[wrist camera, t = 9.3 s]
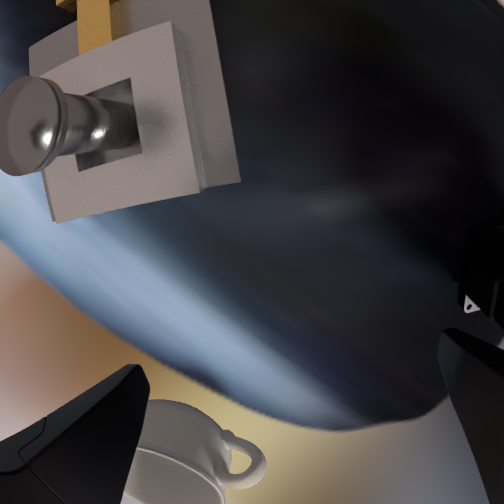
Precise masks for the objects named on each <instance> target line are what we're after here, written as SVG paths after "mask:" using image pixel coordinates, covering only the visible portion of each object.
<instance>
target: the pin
mask: <svg viewBox="0 0 504 504" xmlns="http://www.w3.org/2000/svg"><path fill="white" fill-rule="evenodd" d="M137 132H138V124H137V118H136V112H135V109H134V108H133V107H132V106H130V105H129V104H127V103H123V102H118V101H112V100H107V99H101V98H95V97H89V96H83V95H76V94H69V93H63V91H62V89H61V88H60V87H59V85H58V84H56V83H55V82H54V81H52V80H50V79H46V78H40V77H33V76H23V77H20V78H17V79H16V80H14V81H13V82H11V83H10V84H9V85H8V86H7V87H6V88H5V89H4V90H3V92H2V93H1V94H0V169H1V170H2V171H4V172H5V173H7V174H9V175H12V176H21V175H26V174H30V173H34V172H38V171H41V170H43V169H45V168H46V167H48V166H49V165H50V164H51V163H52V162H53V161H54V159H55V158H56V157H58V156H65V155H72V154H80V153H87V152H96V151H104V150H114V149H121V148H124V147H126V146H127V145H129V144H130V143H131V142H132V141H133V140H134V138H135V137H136V135H137Z"/></svg>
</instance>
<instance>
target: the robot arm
mask: <svg viewBox="0 0 504 504" xmlns="http://www.w3.org/2000/svg"><path fill="white" fill-rule="evenodd" d="M475 233H476V236H475V238H474V234H475ZM468 305H469V306H468ZM467 306H468V307H467ZM462 309H463V310H464V311H465V312H466V313H469V312H473V311H477V310H481V311H482V312H483V313H484V314H485V315H486V316H487V317H488V318H489V319H490V320H492V319H494V320H495V321H496V322H497V323H498V324H499V325H500V326H501V328H502V329H503V330H504V223H503V224H496V225H489V226H482V227H475V228H472V229H471V230H470V231H469V233H468V248H467V260H466V264H465V275H464V285H463V300H462ZM437 358H438V362H439V365H440V368H441V371H442V374H443V377H444V380H445V383H446V386H447V389H448V393H449V396H450V399H451V401H452V404H453V406H454V409H455V411H456V413H457V416H458V418H459V420H460V423H461V425H462V428H463V430H464V433H465V435H466V438H467V440H468V443H469V445H470V448H471V451H472V453H473V456H474V458H475V461H476V464H477V467H478V470H479V473H480V475H481V479H482V481H483V485H484V488H485V491H486V494H487V497H488V500H489V504H504V350H503V349H501V348H498V347H496V346H494V345H492V344H490V343H487V342H485V341H483V340H481V339H479V338H476V337H474V336H472V335H470V334H467V333H465V332H463V331H461V330H458V329H456V328H449V329H445V330H443V331H442V332H441V334H440V339H439V345H438V351H437ZM149 393H150V385H149V382H148V380H147V378H146V375H145V373H144V371H143V368H142V367H141V365H139V364H127V365H126V366H124V367H122V368H121V369H119V370H118V371H116V372H115V373H113V374H112V375H110V376H109V377H107V378H106V379H104V380H103V381H101V382H99V383H98V384H96V385H95V386H93V387H91V388H90V389H88V390H87V391H85V392H84V393H82V394H80V395H79V396H77V397H76V398H74V399H73V400H71V401H69V402H68V403H66V404H65V405H63V406H62V407H60V408H58V409H57V410H55V411H54V412H52V413H50V414H49V415H47V417H44V418H42V419H41V420H39V421H37V422H36V423H34V424H32V425H31V426H29V427H27V428H25V429H23V430H22V431H20V432H18V433H16V434H14V435H12V436H10V437H8V438H6V439H4V440H2V441H0V504H120V503H121V499H122V495H123V492H124V489H125V485H126V482H127V479H128V475H129V472H130V468H131V465H132V462H133V458H134V455H135V452H136V449H137V445H138V442H139V439H140V436H141V432H142V428H143V424H144V419H145V413H146V408H147V403H148V398H149Z"/></svg>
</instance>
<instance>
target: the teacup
mask: <svg viewBox="0 0 504 504" xmlns="http://www.w3.org/2000/svg"><path fill="white" fill-rule="evenodd" d="M231 449H232V450H237V451H240V452H243V453H246V454H247V455H249V456H250V457H251V458H252V463H251V465H250V467H249V468H248V469H247V470H246V471H245V472H243V473H241V474H230V473H229V472H230V466H231ZM265 471H266V459H265V456H264V455H263V453H262V452H261V450H260V449H259V448H258V447H257V446H256V445H254V444H253V443H251V442H249V441H247V440H244V439H242V438H238V437H236V436H235V435H234V434H233V433H232V432H231V431H229V430H222V429H221V427H220V426H219V425H218V424H217V423H216V422H215V421H214V420H213V419H211V418H210V417H209V416H207V415H206V414H204V413H203V412H202V411H200V410H198V409H197V408H194V407H192V406H190V405H187V404H185V403H181V402H176V401H170V400H148V403H147V408H146V413H145V419H144V424H143V428H142V432H141V436H140V439H139V442H138V445H137V449H136V452H135V455H134V458H133V462H132V465H131V468H130V472H129V475H128V479H127V482H126V485H125V489H124V492H123V494H124V495H126V496H127V497H129V498H130V499H132V500H134V501H136V502H138V503H140V504H225V496H224V495H225V490H226V487H230V488H234V489H245V488H249V487H251V486H253V485H255V484H256V483H258V482H259V481H260V480H261V478H262V477H263V475H264V473H265Z"/></svg>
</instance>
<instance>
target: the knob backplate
mask: <svg viewBox="0 0 504 504" xmlns="http://www.w3.org/2000/svg"><path fill="white" fill-rule="evenodd" d="M56 5H57V6H59V7H61V8H63V9H65V10H67V11H69V12H71V13H74V12H76V11H77V21H75V22H73V23H71V24H69V25H67V26H65V27H63V28H61V29H60V30H58V31H56V32H54V33H52V34H51V35H49V36H47V37H46V38H44V39H42V40H41V41H39V42H37V43H36V44H34V45H32V46H31V47H29V71H30V76H33V77H40V78H46V79H50V80H52V81H54V82H55V83H56V84H58V85H59V87H60V88H61V89H62V91H63V93H69V94H76V95H83V96H89V97H95V98H101V99H107V100H112V101H118V102H123V103H127V104H129V105H130V106H132V107H133V108H134V109H135V112H136V118H137V124H138V132H137V135H136V137H135V138H134V140H133V141H132V142H131V143H130V144H129V145H127V146H126V147H124V148H121V149H114V150H104V151H96V152H87V153H80V154H72V155H65V156H58V157H56V158H55V159H54V161H53V162H52V163H51V164H50V165H49V166H48V167H46V168H45V169H43V170H41V172H42V177H43V182H44V187H45V191H46V196H47V200H48V204H49V208H50V213H51V217H52V220H53V222H54V221H56V223H57V224H58V223H62V222H66V221H70V220H74V219H78V218H82V217H86V216H90V215H94V214H99V213H103V212H107V211H112V210H116V209H121V208H125V207H130V206H134V205H139V204H144V203H149V202H154V201H158V200H163V199H169V198H174V197H179V196H184V195H190V194H195V193H200V192H201V191H203V190H204V189H206V188H208V187H214V186H219V185H225V184H231V183H237V182H241V181H242V177H241V172H240V166H239V160H238V154H237V149H236V143H235V137H234V131H233V126H232V120H231V114H230V109H229V103H228V97H227V92H226V86H225V80H224V75H223V69H222V63H221V57H220V52H219V46H218V41H217V35H216V29H215V24H214V18H213V12H212V7H211V1H210V0H56Z"/></svg>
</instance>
